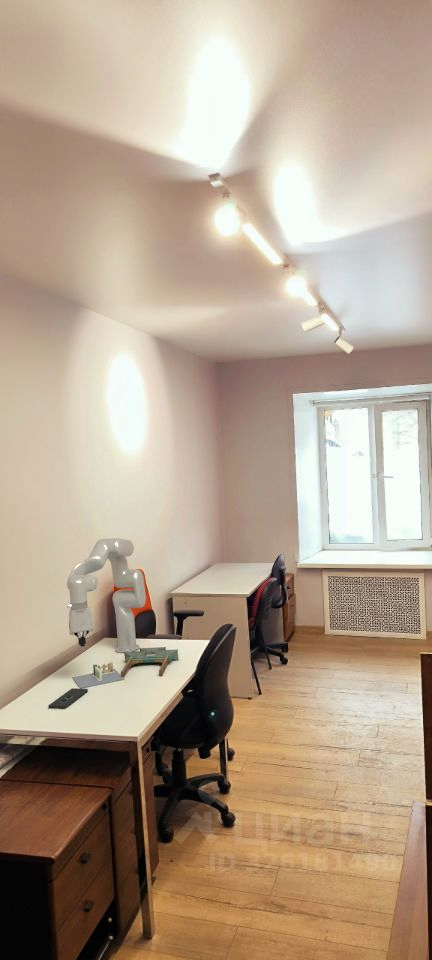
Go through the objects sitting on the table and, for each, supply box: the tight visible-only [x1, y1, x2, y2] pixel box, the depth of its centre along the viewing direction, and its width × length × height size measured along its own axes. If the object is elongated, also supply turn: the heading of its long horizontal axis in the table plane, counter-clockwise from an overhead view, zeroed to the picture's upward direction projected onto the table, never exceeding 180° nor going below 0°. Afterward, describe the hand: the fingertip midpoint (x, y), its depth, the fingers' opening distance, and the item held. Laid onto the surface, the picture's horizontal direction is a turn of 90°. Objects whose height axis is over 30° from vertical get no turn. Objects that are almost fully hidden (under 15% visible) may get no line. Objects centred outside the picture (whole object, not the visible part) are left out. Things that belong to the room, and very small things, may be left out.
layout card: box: [72, 668, 125, 689], centre depth 287 cm, size 17×20×1 cm
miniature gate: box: [120, 646, 180, 678], centre depth 300 cm, size 27×6×30 cm
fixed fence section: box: [92, 661, 114, 676], centre depth 293 cm, size 9×2×5 cm, turn 114°
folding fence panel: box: [95, 667, 103, 680], centre depth 287 cm, size 8×1×4 cm, turn 26°
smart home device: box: [48, 687, 89, 710], centre depth 263 cm, size 8×2×20 cm
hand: (82, 645), depth 285 cm, fingers closed
